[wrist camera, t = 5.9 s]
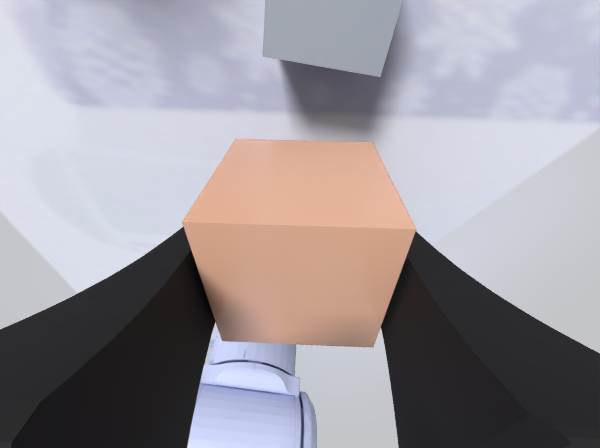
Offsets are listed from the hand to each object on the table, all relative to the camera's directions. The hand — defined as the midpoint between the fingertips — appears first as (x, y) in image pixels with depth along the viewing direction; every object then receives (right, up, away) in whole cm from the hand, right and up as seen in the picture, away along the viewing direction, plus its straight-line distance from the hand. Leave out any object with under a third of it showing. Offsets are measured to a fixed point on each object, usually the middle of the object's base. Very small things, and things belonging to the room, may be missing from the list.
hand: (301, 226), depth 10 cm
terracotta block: (0, +1, +1) cm, 2 cm away
